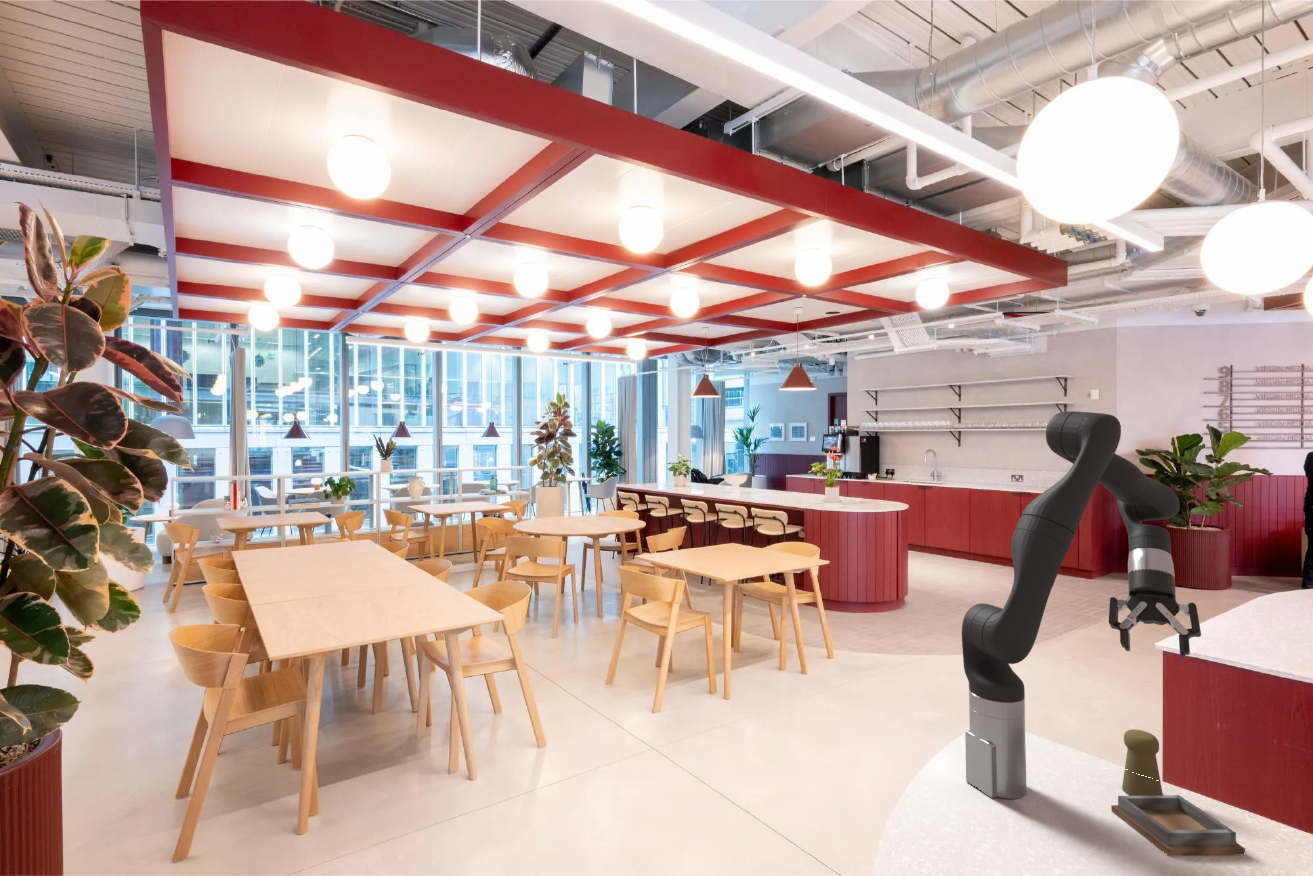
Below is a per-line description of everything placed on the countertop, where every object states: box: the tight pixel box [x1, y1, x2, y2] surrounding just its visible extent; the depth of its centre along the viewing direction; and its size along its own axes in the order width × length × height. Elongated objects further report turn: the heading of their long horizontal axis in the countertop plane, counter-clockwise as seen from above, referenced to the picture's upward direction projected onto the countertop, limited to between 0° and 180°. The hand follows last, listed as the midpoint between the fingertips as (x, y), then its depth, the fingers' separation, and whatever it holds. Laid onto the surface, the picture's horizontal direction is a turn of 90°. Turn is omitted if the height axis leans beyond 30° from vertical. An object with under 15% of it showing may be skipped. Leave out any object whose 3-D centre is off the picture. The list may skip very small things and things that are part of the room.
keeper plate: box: [1110, 794, 1246, 856], centre depth 103 cm, size 12×12×3 cm
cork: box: [1121, 729, 1164, 796], centre depth 115 cm, size 6×6×11 cm
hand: (1154, 653), depth 123 cm, fingers open, 8 cm apart
